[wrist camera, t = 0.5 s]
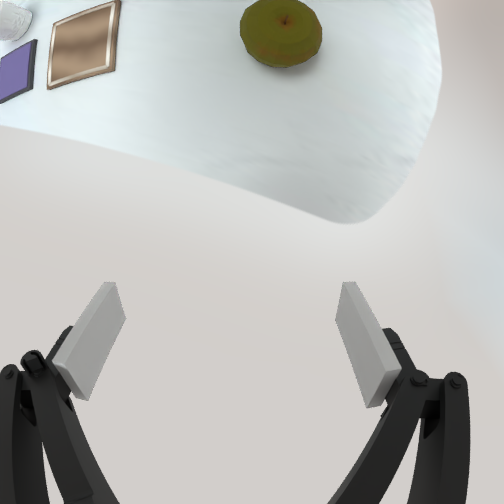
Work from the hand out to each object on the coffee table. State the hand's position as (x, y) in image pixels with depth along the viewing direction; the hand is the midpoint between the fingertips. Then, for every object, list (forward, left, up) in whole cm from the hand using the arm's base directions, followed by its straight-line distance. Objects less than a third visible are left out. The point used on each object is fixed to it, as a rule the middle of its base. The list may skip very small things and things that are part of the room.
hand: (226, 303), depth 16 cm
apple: (-22, +5, -27) cm, 35 cm away
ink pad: (-26, -41, -27) cm, 56 cm away
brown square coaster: (-26, -25, -27) cm, 45 cm away
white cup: (-37, -42, -27) cm, 62 cm away
